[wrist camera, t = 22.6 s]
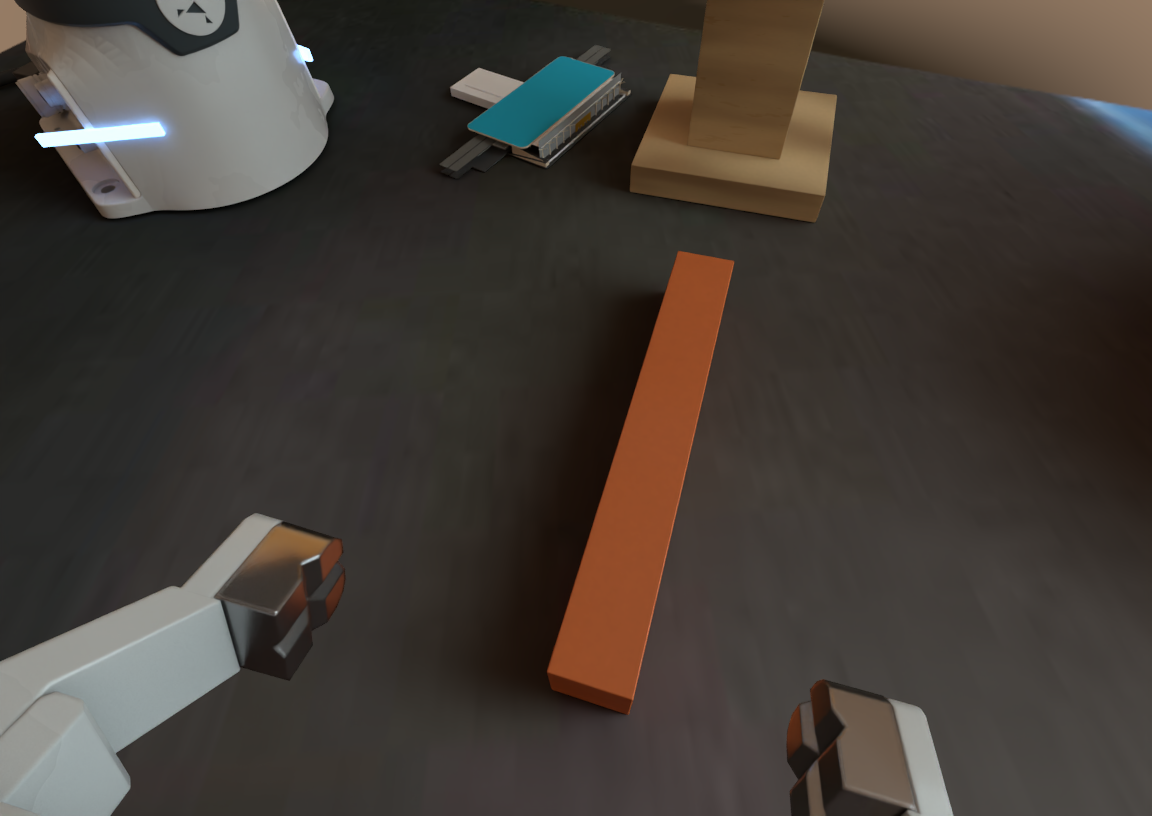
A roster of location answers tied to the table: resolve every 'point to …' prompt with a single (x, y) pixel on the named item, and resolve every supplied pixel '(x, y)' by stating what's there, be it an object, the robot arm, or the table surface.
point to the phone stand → (535, 111)
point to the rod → (641, 495)
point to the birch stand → (743, 116)
